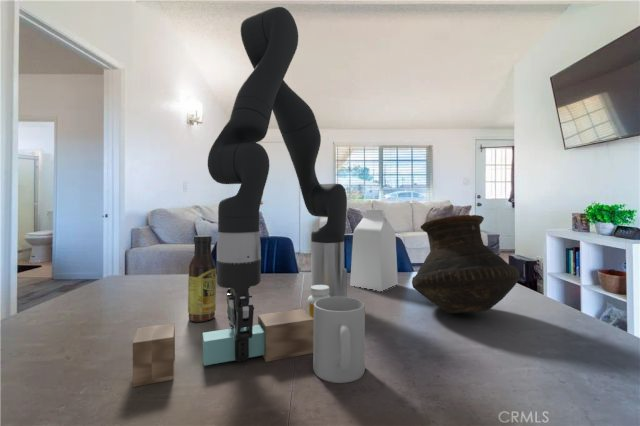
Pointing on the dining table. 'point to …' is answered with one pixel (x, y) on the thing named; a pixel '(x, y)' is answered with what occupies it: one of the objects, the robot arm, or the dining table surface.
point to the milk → (374, 253)
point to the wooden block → (287, 334)
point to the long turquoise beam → (230, 344)
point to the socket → (154, 354)
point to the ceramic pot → (462, 267)
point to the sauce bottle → (202, 281)
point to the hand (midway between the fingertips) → (239, 352)
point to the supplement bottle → (316, 297)
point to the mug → (339, 339)
